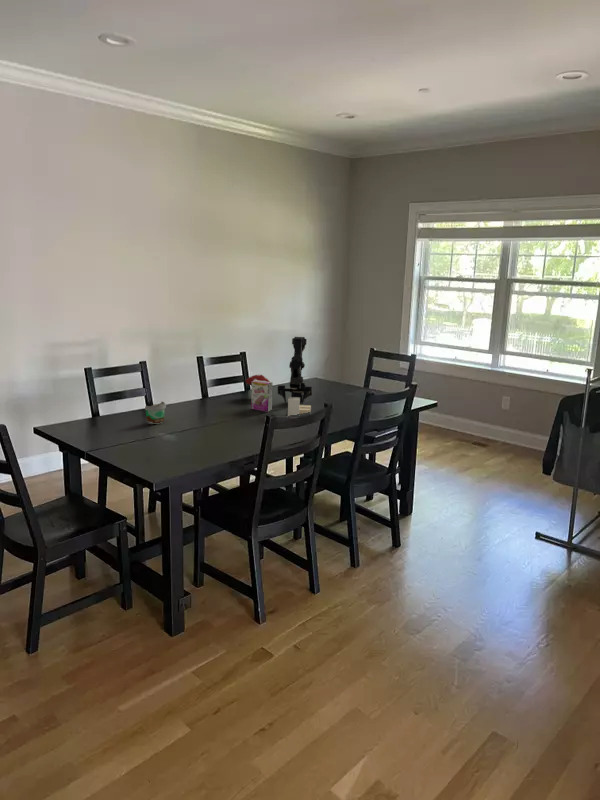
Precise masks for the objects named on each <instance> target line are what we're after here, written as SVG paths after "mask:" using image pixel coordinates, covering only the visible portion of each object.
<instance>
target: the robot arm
mask: <svg viewBox="0 0 600 800" xmlns="http://www.w3.org/2000/svg"><path fill="white" fill-rule="evenodd" d="M291 345H292V347H293V349H294V352H293V356H292V357H291V359H290V360H291V361H289V369H290V378H289V379H290V380H289V387H286V385H285V384H283V385H282V384H279V385H277V394H278V395H280V396H281V397H282V398H283V401H284V404H287V398H286V392H289V393H291V395H290V397H300V404H301V405H304V403H305V401H306V400H307V399H308V398H309V397H310V396H312V395H313V387H312V386H309V385H308V386H307V385H306V384H305V382H304V377H303V376H302V370H303V369H304V368H305V365H306V364H305V363H304V360H303V352H304V350H305V349H306V346H307V338H305V336H294V337H293V338H292V339H291Z"/></svg>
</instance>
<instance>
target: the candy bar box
mask: <svg viewBox="0 0 600 800" xmlns="http://www.w3.org/2000/svg"><path fill="white" fill-rule="evenodd" d="M273 385H274V384H273V381H272V382H271V381H270V382H267V381H260V380H254V381H251V385H250V386H251V387H250V388H251V389H250V392H251V393H250V394H251V395H250V410H251V409H254V410H253V411H257V410H261V411H260V412H264V411H267V412H266V413H269V412H268V411H270V410H272V411H273ZM270 412H271V411H270Z"/></svg>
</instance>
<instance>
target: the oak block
mask: <svg viewBox="0 0 600 800" xmlns="http://www.w3.org/2000/svg"><path fill="white" fill-rule="evenodd" d="M311 410H312V405H310V404H309V405H308V404H307V405H306V404H300V414H303V413H308V412H310V413H311Z"/></svg>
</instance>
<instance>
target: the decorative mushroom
mask: <svg viewBox="0 0 600 800" xmlns="http://www.w3.org/2000/svg"><path fill="white" fill-rule="evenodd" d="M254 380H260V381H267V382H271V381H270V380H269V379H268V378H267V377H265V376H264V375H263V374H255V375H252V376H251V375H250V376H249V377H247V378H246V379H245V383H246V384H247V385H249V386H251V381H254Z"/></svg>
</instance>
